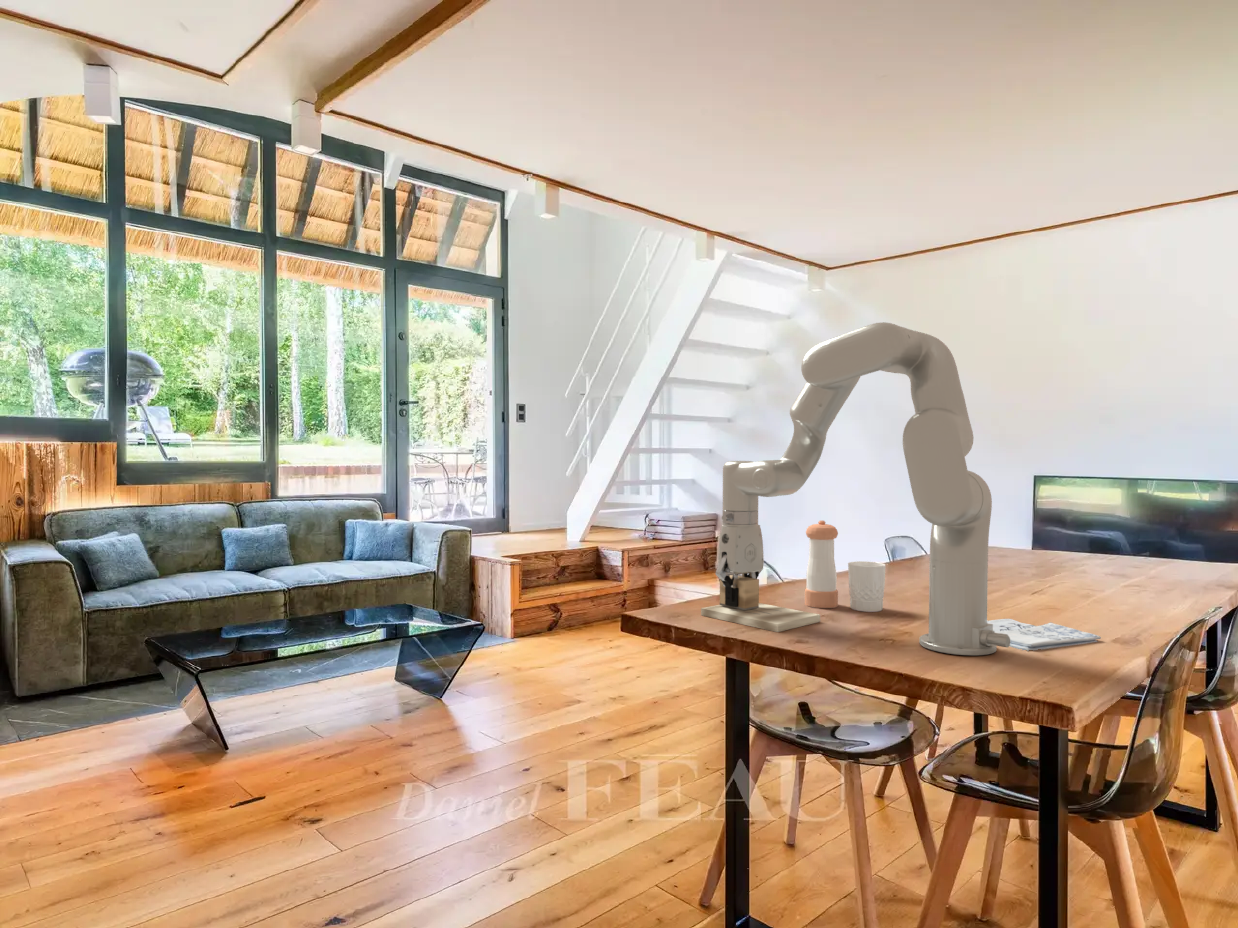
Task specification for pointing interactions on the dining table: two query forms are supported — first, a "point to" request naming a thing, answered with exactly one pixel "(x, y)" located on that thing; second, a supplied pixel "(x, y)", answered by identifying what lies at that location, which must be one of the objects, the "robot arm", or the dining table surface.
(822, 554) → the pepper shaker
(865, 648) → the dining table surface
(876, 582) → the white cup
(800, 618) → the board
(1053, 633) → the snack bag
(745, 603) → the block
